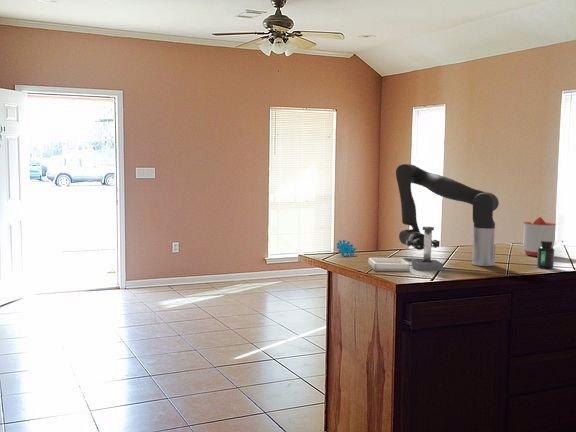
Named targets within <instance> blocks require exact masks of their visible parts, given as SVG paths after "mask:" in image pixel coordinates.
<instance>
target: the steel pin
mask: <svg viewBox="0 0 576 432" xmlns="http://www.w3.org/2000/svg"><path fill="white" fill-rule="evenodd" d="M422 230H423V234H424V249H423V257H422V258H423V259H422V260H423V262H431V260H432V259H431V258H432V247H431V242H432V241H433V239H432V237H433V231H434V230H435V227H434V226H422Z"/></svg>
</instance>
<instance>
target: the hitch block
mask: <svg viewBox="0 0 576 432" xmlns="http://www.w3.org/2000/svg"><path fill="white" fill-rule="evenodd" d="M443 266H444V264H443V263H442V262H441V261H439V260H437V259H431V262H423V259H414V258H413V259H411V264H410V267H412V268H413V269H415V270H416V271H435V272H436V271H437V272H441V271H443V270H444V269H443Z"/></svg>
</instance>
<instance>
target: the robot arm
mask: <svg viewBox="0 0 576 432" xmlns="http://www.w3.org/2000/svg"><path fill="white" fill-rule="evenodd" d="M395 177H396V182H397V188H398V191H399V197H400V205H401V208H400V209H401V223H402V224H403V225H405V226H410V227H411V228H412V229H402V230H401V231H400V232H399V235H398V238H399V239H398V240H399V242H400V243H401V244H403V245H406V246H407V247H411V248H413V249H415V250H418V251H422V250H424V233H421V231H420V229H419V225H418V222H417V221H418V220H417V208H416V203H415V200H414V197H413V193H412V184H415V185H418V186H422V187H423V188H426V189H427V190H429V191H430V192H432V193H433V194H436V195H438V196H440V197H443V198H444V199H445V198H446V199H448V200H452V201H456V202H463V203H467V204H470V205H471V206H472V222H473V237H472V238H473V239H472V259H471V264H472V265H474V266H479V267H495V265H496V248H497V247H496V244H495V235H496V234H495V231H496V222H495V221H494V217H493V216H494V214H493V213H494V211H495V210H497V209H498V207H499V205H500V203H499V199H498V197H497V196H496V195H495V194H494V193H492V192H487V191H485V190H484V191H483V190H480V189H475V188H473V187H471V186H468V185H466V184H464V183H462V182H459V181H457V180H454V179H452V178H450V177H447V176H443V175H440V174H435V173H431V172H428V171H426V170H424V169H422V168H420V167H418V166H416V165H414V164H411V163H401V164H399V165H398V166H397V168H396V170H395ZM440 242H441V241H439V240H437V239H432V242H431V248H439V247H440Z"/></svg>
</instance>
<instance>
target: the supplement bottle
mask: <svg viewBox="0 0 576 432" xmlns="http://www.w3.org/2000/svg"><path fill="white" fill-rule="evenodd" d="M540 245H541V247H539V248H538V256H536V258H537V262H536V263H537V264H536V266H537V268H538V267H539V269H545V270H551V269H553V268H554V265H555V264H554V262H555V260H554V259H555V249H554V247H553V248H552V242H551V241H541V244H540Z"/></svg>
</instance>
